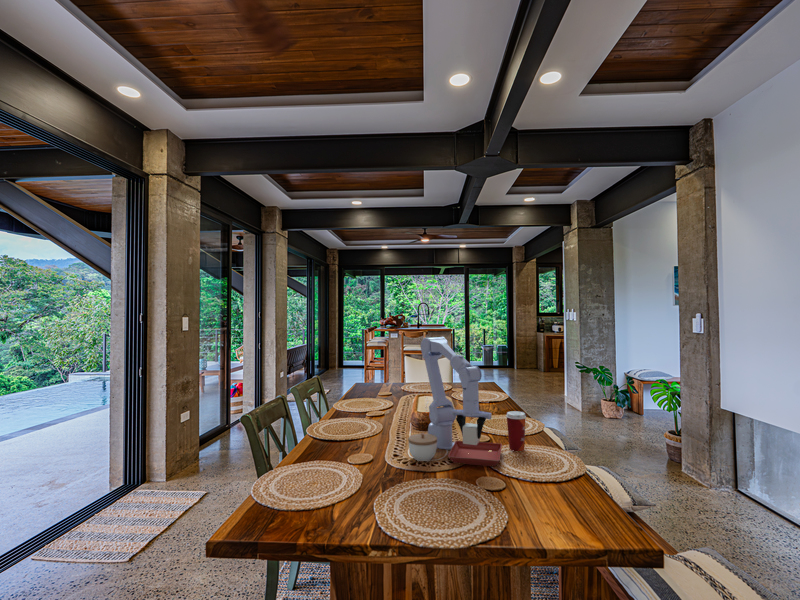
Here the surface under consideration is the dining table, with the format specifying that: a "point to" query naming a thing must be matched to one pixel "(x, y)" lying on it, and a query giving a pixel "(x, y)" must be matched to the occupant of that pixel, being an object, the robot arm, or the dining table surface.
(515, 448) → the paper cup
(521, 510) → the dining table surface
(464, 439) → the block
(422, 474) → the dining table surface
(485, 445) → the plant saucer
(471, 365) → the robot arm
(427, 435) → the lidded jar
